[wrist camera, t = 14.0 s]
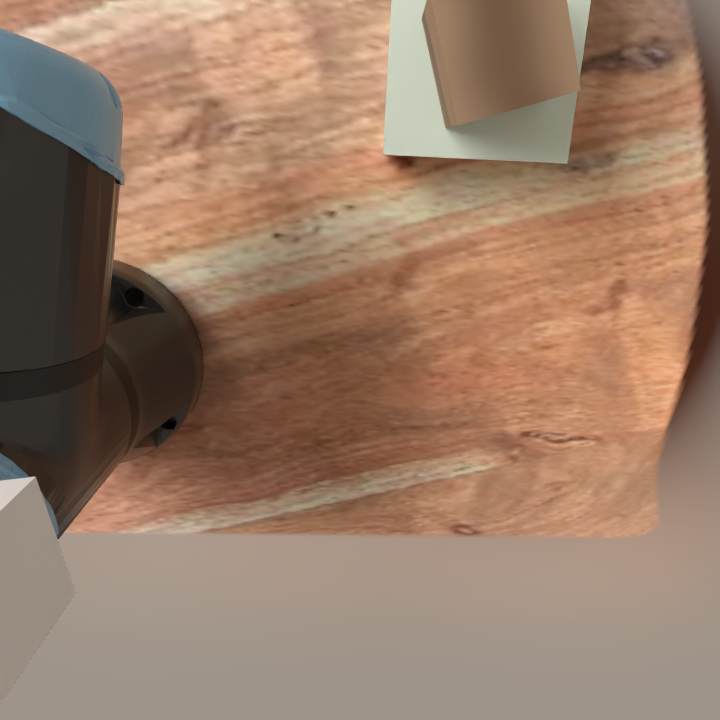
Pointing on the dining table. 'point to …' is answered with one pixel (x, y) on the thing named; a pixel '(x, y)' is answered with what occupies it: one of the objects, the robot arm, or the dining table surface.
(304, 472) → the dining table surface
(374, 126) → the dining table surface
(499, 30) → the walnut block
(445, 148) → the pedestal block
